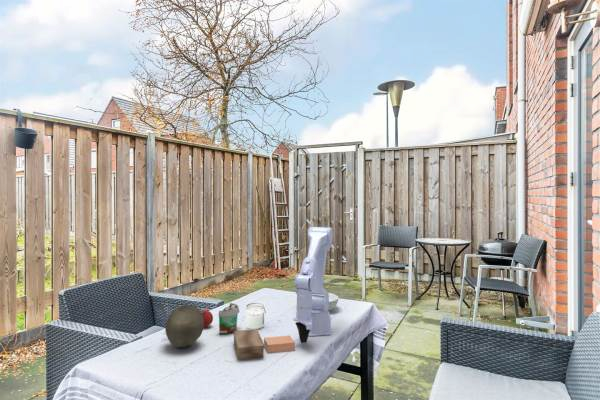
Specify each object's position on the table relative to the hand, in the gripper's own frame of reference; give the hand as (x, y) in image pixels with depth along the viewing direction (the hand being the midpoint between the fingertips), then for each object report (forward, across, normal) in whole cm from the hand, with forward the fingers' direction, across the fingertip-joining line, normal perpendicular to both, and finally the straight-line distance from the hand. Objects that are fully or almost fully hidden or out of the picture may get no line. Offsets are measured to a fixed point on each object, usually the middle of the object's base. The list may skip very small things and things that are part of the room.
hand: (303, 342), depth 137 cm
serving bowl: (+2, -42, +20) cm, 47 cm away
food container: (+2, -21, -25) cm, 33 cm away
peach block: (+1, 0, -9) cm, 10 cm away
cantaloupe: (+2, -9, -43) cm, 44 cm away
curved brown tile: (+1, 0, -21) cm, 21 cm away
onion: (+2, -28, -35) cm, 45 cm away
